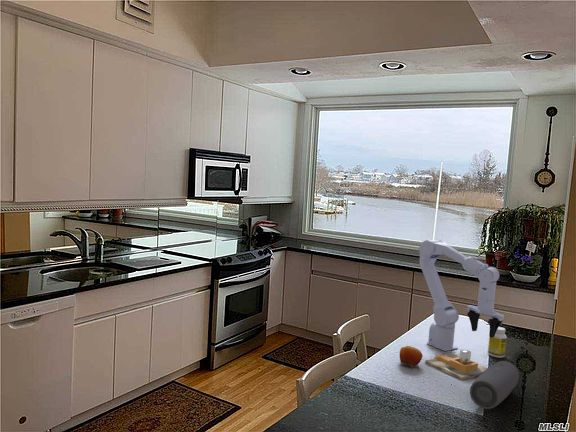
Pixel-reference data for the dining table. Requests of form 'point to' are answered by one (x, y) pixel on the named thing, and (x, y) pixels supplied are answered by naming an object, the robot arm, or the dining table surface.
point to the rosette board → (453, 371)
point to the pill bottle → (497, 343)
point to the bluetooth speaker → (494, 384)
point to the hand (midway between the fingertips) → (482, 333)
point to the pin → (465, 357)
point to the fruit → (410, 356)
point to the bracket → (456, 364)
